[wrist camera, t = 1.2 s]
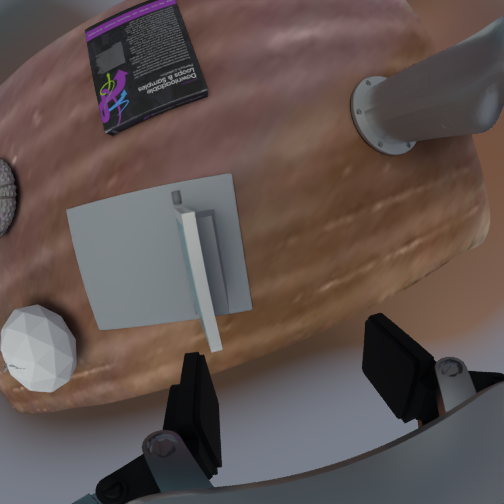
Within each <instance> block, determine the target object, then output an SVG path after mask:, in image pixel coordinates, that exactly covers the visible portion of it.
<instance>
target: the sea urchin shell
mask: <svg viewBox="0 0 504 504" xmlns="http://www.w3.org/2000/svg"><path fill="white" fill-rule="evenodd" d="M14 181H15V179H14V178H13V174H12V172H11V168H10V167H9V166H8V165H7V163H6V162H4V161H3V160H2V158H0V237H1V236H2V235H3V233H6V230H7V229H8V226H9V225H11V222H12V219H13V217H14V211H15V209H16V206H15V205H16V201H15V197H16V195H17V193H16V192H15V190H16V186H15V185H14Z"/></svg>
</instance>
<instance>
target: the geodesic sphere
mask: <svg viewBox="0 0 504 504" xmlns="http://www.w3.org/2000/svg"><path fill="white" fill-rule="evenodd" d="M1 352H2V355H3V358H4V360H5V362H6V363H5V364H6V365H7V366H6V365H5V366H6V367H5V366H4V368H5V369H4V370H3V372H4V373H5V371H6V370H7V369H9V372H10V374H11V375H12V376H13V377H14V378H15V379H17V380H18V381H19V382H20V383H21V384H22V385H24V386H25V387H26V388H27V389H29V390H30V391H41V392H53V391H54V390H56V389H58V388H59V387H61V386H62V385H64V384H65V383H67V382H68V381H69V380H70V378H71V376H72V374H73V372H74V370H75V368H76V366H77V360H76V339H75V338H74V336H73V335H72V333H71V331H70V330H69V328H68V327H67V325H66V323H65V322H64V320H63V319H62V317H61V316H60V315H58V314H56V313H54V312H52V311H50V310H48V309H46V308H44V307H42V306H40V305H38V304H37V305H32V306H28V307H24V308H19V309H15V310H14V311H13V313H12V314H11V316H10V317H9V319H8V320H7V322H6V323H5V325H4V327H3V328H2V330H1Z"/></svg>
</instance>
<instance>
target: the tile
mask: <svg viewBox="0 0 504 504" xmlns="http://www.w3.org/2000/svg"><path fill="white" fill-rule="evenodd" d="M174 211H175V217H176V223H177V228H178V234H179V239H180V244H181V249H182V254H183V259H184V263H185V268H186V273H187V277H188V282H189V286H190V290H191V295H192V299H193V302H194V305H195V308H196V311H197V314H198V317H199V320H200V322H201V325H202V328H203V331H204V333H205V336H206V339H207V341H208V344H209V347H210V349H211V352H216V351H219V350H223V349H222V345H221V341H220V336H219V332H218V328H217V323H216V319H215V314H214V310H213V305H212V301H211V296H210V291H209V286H208V282H207V277H206V272H205V267H204V262H203V256H202V251H201V246H200V240H199V235H198V229H197V224H196V218H195V212H194V211H192V210H189V209H187V208H184V207H177V208H174Z"/></svg>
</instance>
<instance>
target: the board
mask: <svg viewBox="0 0 504 504" xmlns="http://www.w3.org/2000/svg"><path fill="white" fill-rule="evenodd" d="M177 207H184V208H187V209H189V210H192V211H194V212H195V218H196V224H197V229H198V235H199V240H200V246H201V251H202V256H203V262H204V267H205V272H206V277H207V282H208V286H209V291H210V296H211V301H212V305H213V310H214V314H215V316H219V315H225V314H231V313H237V312H242V311H248V310H253V309H252V303H251V297H250V290H249V284H248V278H247V271H246V265H245V259H244V252H243V246H242V239H241V233H240V226H239V220H238V213H237V207H236V200H235V193H234V187H233V180H232V173H229V174H223V175H216V176H210V177H205V178H199V179H193V180H188V181H183V182H177V183H172V184H167V185H163V186H158V187H153V188H149V189H144V190H140V191H135V192H131V193H127V194H123V195H119V196H115V197H111V198H107V199H103V200H99V201H96V202H92V203H88V204H85V205H81V206H78V207H74V208H71V209H68V210H67V216H68V221H69V226H70V231H71V236H72V240H73V245H74V249H75V253H76V257H77V261H78V265H79V268H80V272H81V276H82V279H83V283H84V286H85V289H86V292H87V295H88V299H89V302H90V305H91V308H92V310H93V313H94V316H95V319H96V322H97V324H98V327H99V330H108V329H118V328H128V327H137V326H146V325H155V324H163V323H170V322H178V321H185V320H192V319H199V317H198V314H197V311H196V308H195V305H194V302H193V299H192V295H191V290H190V286H189V282H188V277H187V273H186V268H185V263H184V259H183V254H182V249H181V244H180V239H179V234H178V228H177V223H176V217H175V211H174V208H177Z"/></svg>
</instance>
